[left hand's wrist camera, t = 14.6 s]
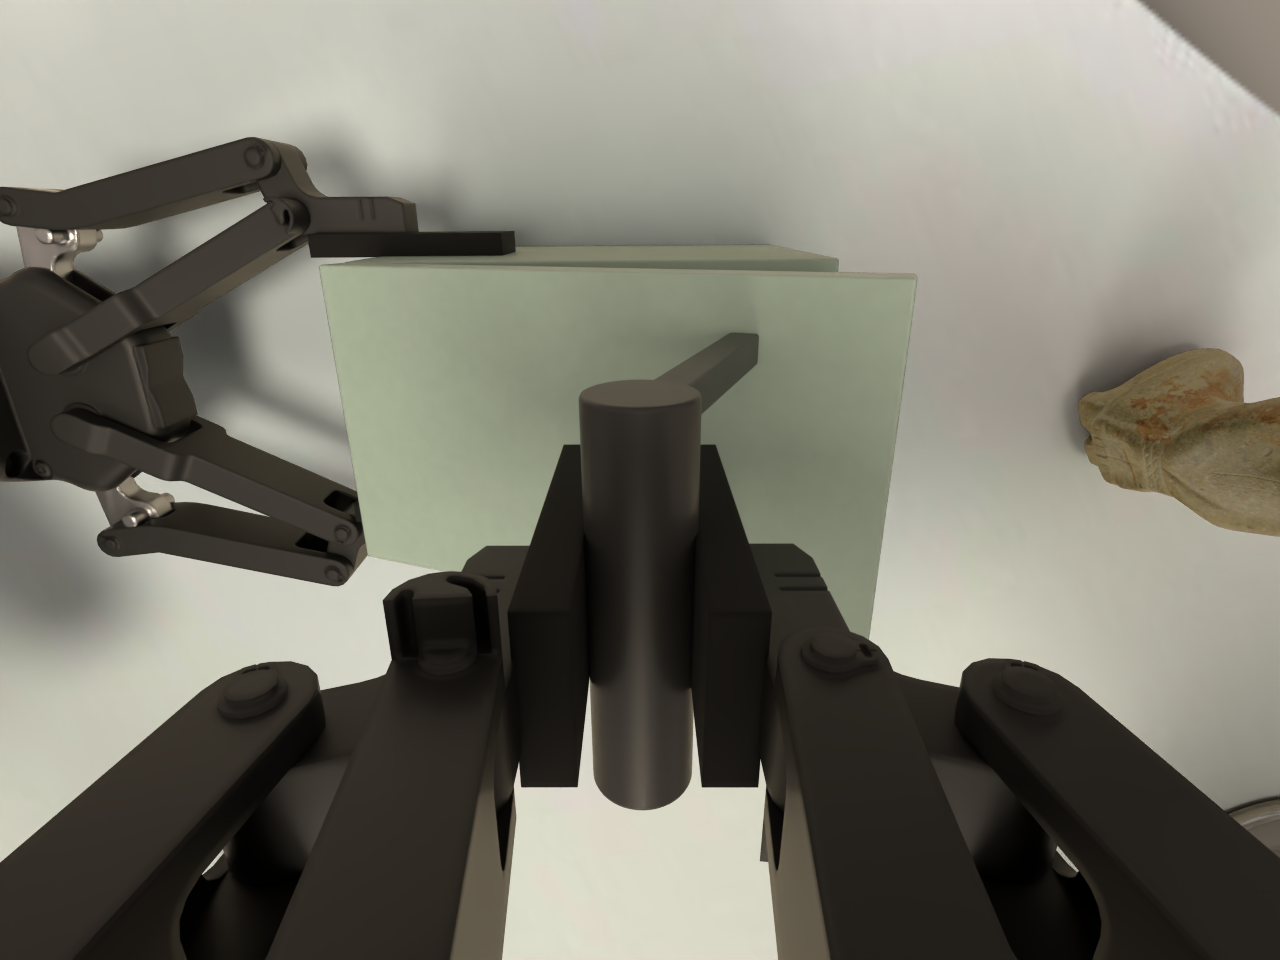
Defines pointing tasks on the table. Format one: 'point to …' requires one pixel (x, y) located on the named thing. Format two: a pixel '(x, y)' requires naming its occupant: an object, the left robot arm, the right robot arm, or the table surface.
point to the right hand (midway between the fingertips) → (518, 379)
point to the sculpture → (1191, 439)
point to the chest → (641, 258)
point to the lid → (624, 444)
